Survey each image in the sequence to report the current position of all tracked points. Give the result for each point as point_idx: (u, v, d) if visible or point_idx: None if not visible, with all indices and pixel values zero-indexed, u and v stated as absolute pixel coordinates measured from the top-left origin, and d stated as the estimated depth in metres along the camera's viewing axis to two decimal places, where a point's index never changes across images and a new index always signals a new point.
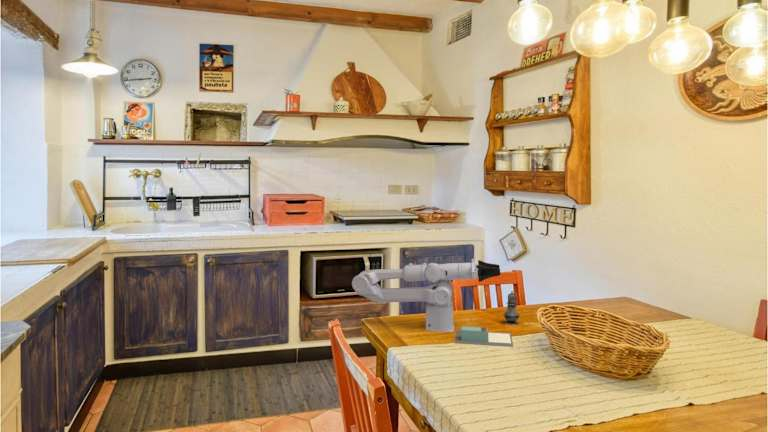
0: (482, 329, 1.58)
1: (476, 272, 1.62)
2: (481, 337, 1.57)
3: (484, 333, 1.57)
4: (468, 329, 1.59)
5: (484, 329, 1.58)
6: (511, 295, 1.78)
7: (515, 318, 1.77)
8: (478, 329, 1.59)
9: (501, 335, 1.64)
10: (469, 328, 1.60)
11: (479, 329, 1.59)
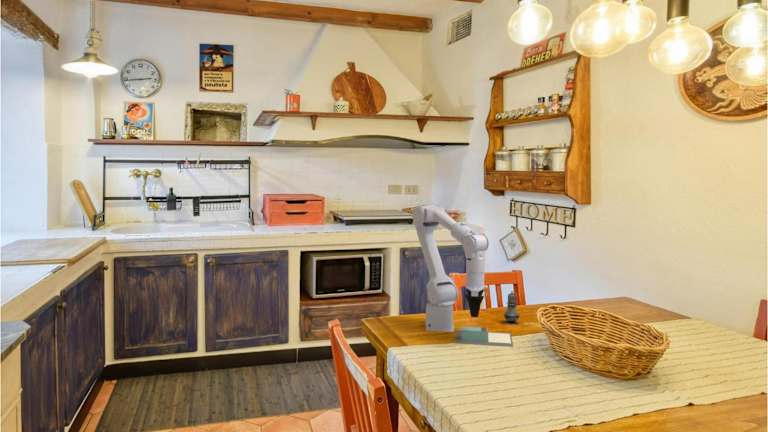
0: (482, 329, 1.58)
1: (476, 295, 1.51)
2: (481, 337, 1.57)
3: (484, 333, 1.57)
4: (468, 329, 1.59)
5: (484, 329, 1.58)
6: (511, 295, 1.78)
7: (515, 318, 1.77)
8: (478, 329, 1.59)
9: (501, 335, 1.64)
10: (469, 328, 1.60)
11: (479, 329, 1.59)
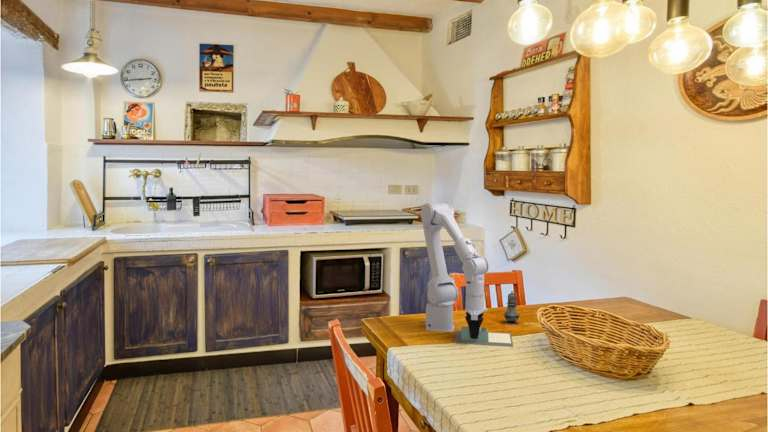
0: (482, 329, 1.58)
1: (476, 319, 1.52)
2: (481, 337, 1.57)
3: (484, 333, 1.57)
4: (468, 329, 1.59)
5: (484, 329, 1.58)
6: (511, 295, 1.78)
7: (515, 318, 1.77)
8: None
9: (501, 335, 1.64)
10: None
11: (479, 329, 1.59)
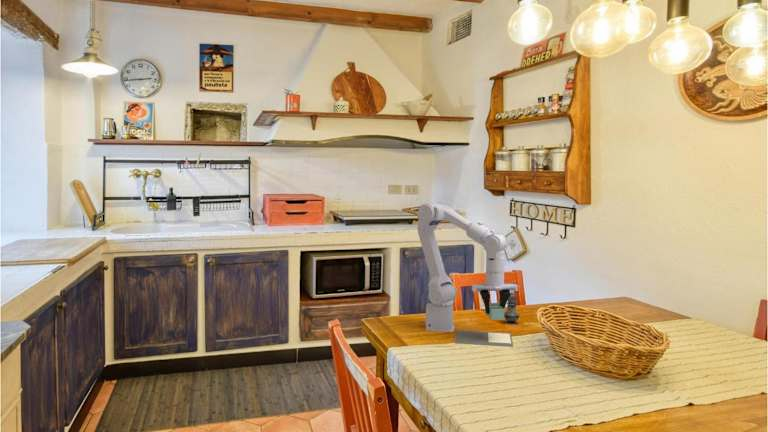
0: (495, 307, 1.57)
1: (472, 290, 1.58)
2: (490, 314, 1.58)
3: (491, 310, 1.56)
4: (491, 304, 1.62)
5: (496, 308, 1.57)
6: (511, 295, 1.78)
7: (515, 318, 1.77)
8: (494, 306, 1.58)
9: (501, 335, 1.64)
10: (493, 304, 1.61)
11: (495, 307, 1.58)
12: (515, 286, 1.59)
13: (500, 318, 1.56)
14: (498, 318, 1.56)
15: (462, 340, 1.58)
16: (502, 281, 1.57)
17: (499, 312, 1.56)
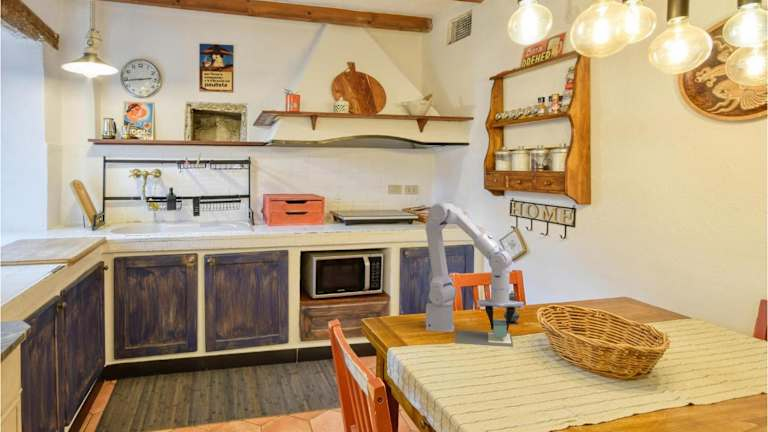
0: (498, 324, 1.58)
1: (477, 305, 1.61)
2: (493, 330, 1.59)
3: (493, 326, 1.58)
4: (497, 320, 1.62)
5: (499, 324, 1.57)
6: (511, 295, 1.78)
7: (515, 318, 1.77)
8: (499, 323, 1.59)
9: None
10: (500, 321, 1.62)
11: (499, 323, 1.59)
12: (520, 304, 1.58)
13: (502, 335, 1.57)
14: (500, 335, 1.57)
15: (462, 340, 1.58)
16: (506, 298, 1.58)
17: (501, 329, 1.57)
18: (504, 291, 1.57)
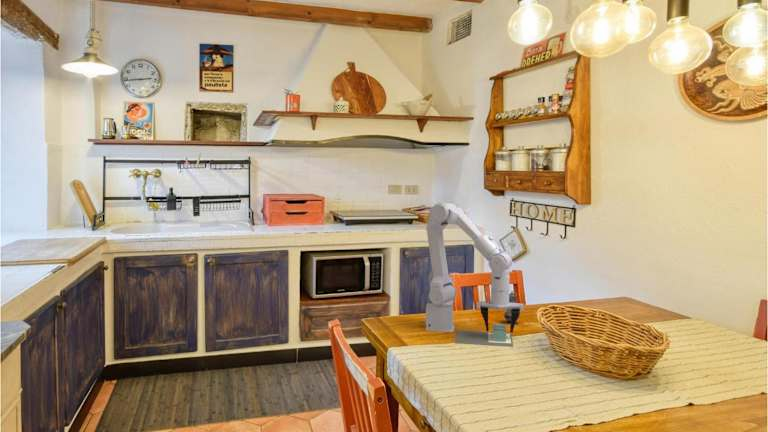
0: (498, 329, 1.58)
1: (477, 307, 1.61)
2: None
3: (493, 331, 1.58)
4: (497, 325, 1.62)
5: (498, 330, 1.58)
6: (511, 295, 1.78)
7: None
8: (498, 328, 1.59)
9: None
10: (499, 326, 1.62)
11: (498, 328, 1.59)
12: (520, 306, 1.58)
13: (501, 340, 1.57)
14: (500, 340, 1.57)
15: (462, 340, 1.58)
16: (506, 300, 1.58)
17: (501, 334, 1.57)
18: (504, 293, 1.57)
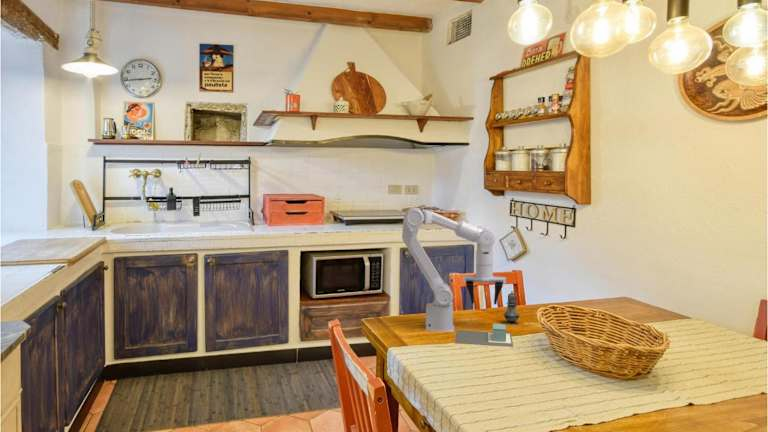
0: (498, 329, 1.58)
1: None
2: None
3: (493, 331, 1.58)
4: (497, 325, 1.62)
5: (498, 330, 1.58)
6: (511, 295, 1.78)
7: (515, 318, 1.77)
8: (498, 328, 1.59)
9: None
10: (499, 326, 1.62)
11: (498, 328, 1.59)
12: (503, 279, 1.68)
13: (501, 340, 1.57)
14: (500, 340, 1.57)
15: (462, 340, 1.58)
16: (490, 273, 1.68)
17: (501, 334, 1.57)
18: (488, 267, 1.67)
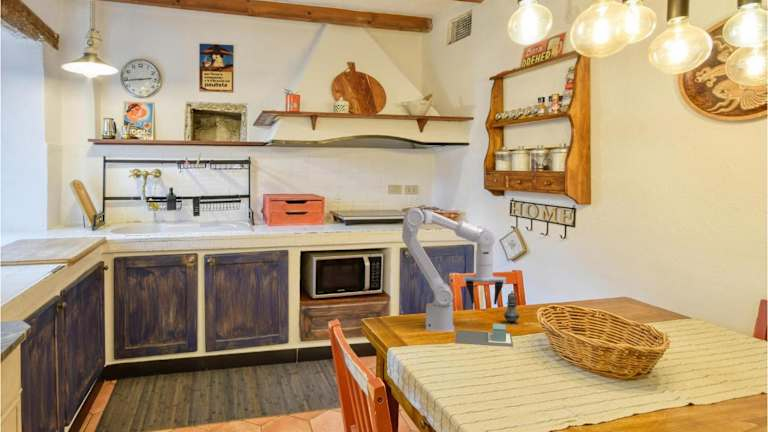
0: (498, 329, 1.58)
1: None
2: None
3: (493, 331, 1.58)
4: (497, 325, 1.62)
5: (498, 330, 1.58)
6: (511, 295, 1.78)
7: (515, 318, 1.77)
8: (498, 328, 1.59)
9: None
10: (499, 326, 1.62)
11: (498, 328, 1.59)
12: (503, 279, 1.68)
13: (501, 340, 1.57)
14: (500, 340, 1.57)
15: (462, 340, 1.58)
16: (490, 273, 1.68)
17: (501, 334, 1.57)
18: (488, 267, 1.67)
